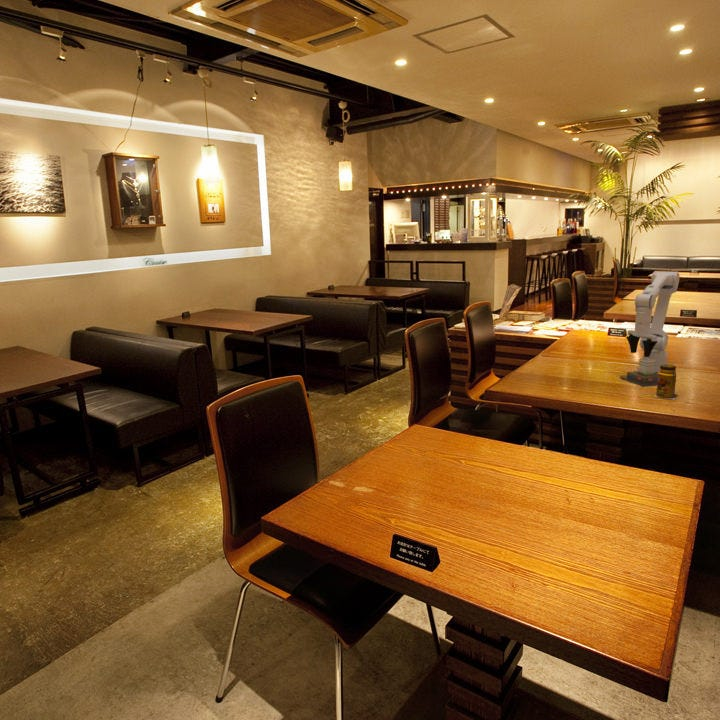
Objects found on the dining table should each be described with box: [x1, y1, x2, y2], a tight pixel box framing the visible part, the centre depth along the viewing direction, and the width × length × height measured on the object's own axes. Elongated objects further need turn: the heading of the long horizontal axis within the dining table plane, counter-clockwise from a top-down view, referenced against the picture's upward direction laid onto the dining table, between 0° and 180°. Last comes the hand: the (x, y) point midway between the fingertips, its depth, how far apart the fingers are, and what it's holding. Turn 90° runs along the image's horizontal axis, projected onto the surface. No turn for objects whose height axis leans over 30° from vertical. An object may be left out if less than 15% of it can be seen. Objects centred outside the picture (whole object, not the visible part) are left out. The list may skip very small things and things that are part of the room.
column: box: [637, 357, 655, 376], centre depth 227 cm, size 4×4×6 cm
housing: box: [619, 370, 659, 388], centre depth 228 cm, size 14×14×3 cm
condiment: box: [652, 364, 680, 400], centre depth 207 cm, size 7×8×12 cm
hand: (640, 354), depth 230 cm, fingers open, 7 cm apart
